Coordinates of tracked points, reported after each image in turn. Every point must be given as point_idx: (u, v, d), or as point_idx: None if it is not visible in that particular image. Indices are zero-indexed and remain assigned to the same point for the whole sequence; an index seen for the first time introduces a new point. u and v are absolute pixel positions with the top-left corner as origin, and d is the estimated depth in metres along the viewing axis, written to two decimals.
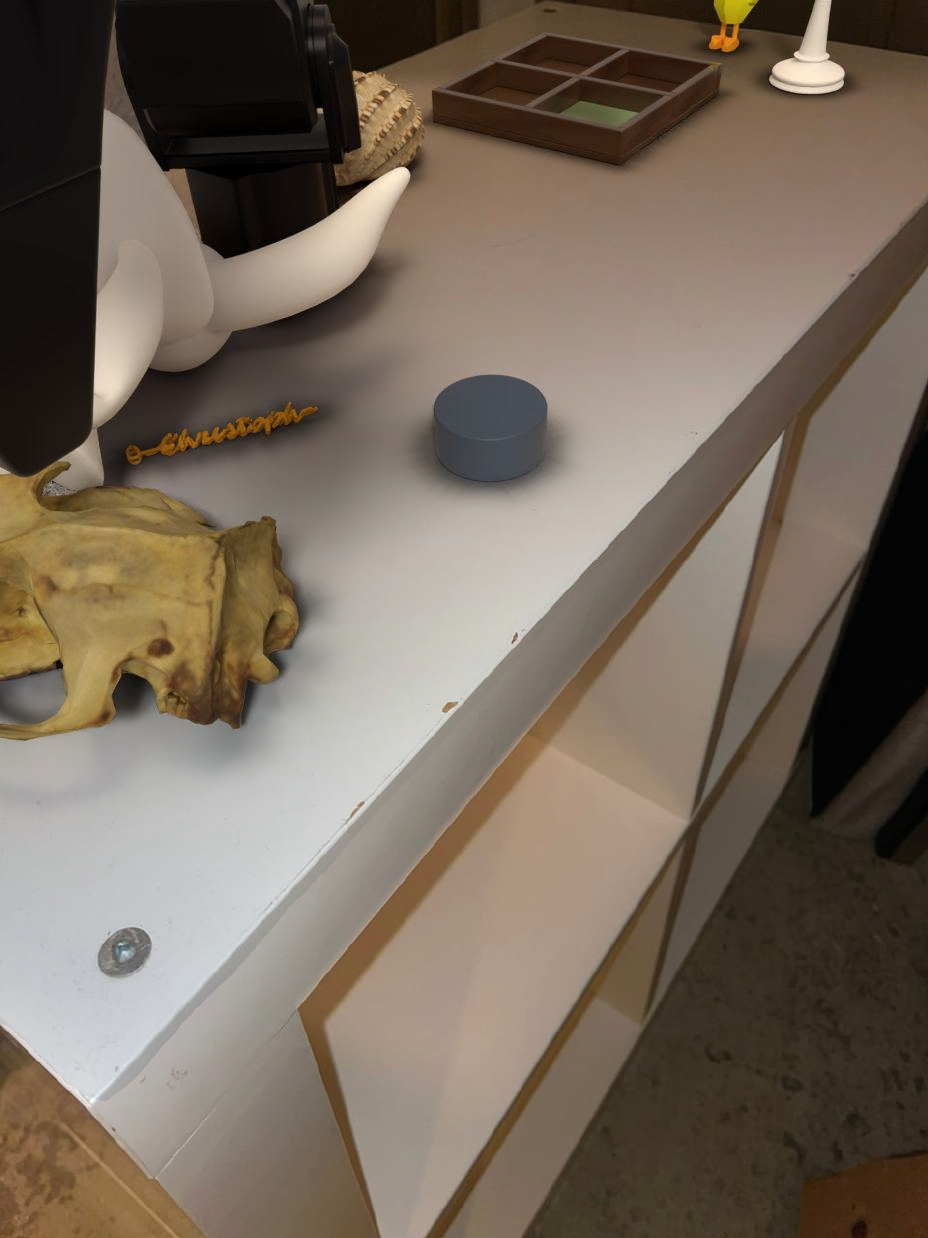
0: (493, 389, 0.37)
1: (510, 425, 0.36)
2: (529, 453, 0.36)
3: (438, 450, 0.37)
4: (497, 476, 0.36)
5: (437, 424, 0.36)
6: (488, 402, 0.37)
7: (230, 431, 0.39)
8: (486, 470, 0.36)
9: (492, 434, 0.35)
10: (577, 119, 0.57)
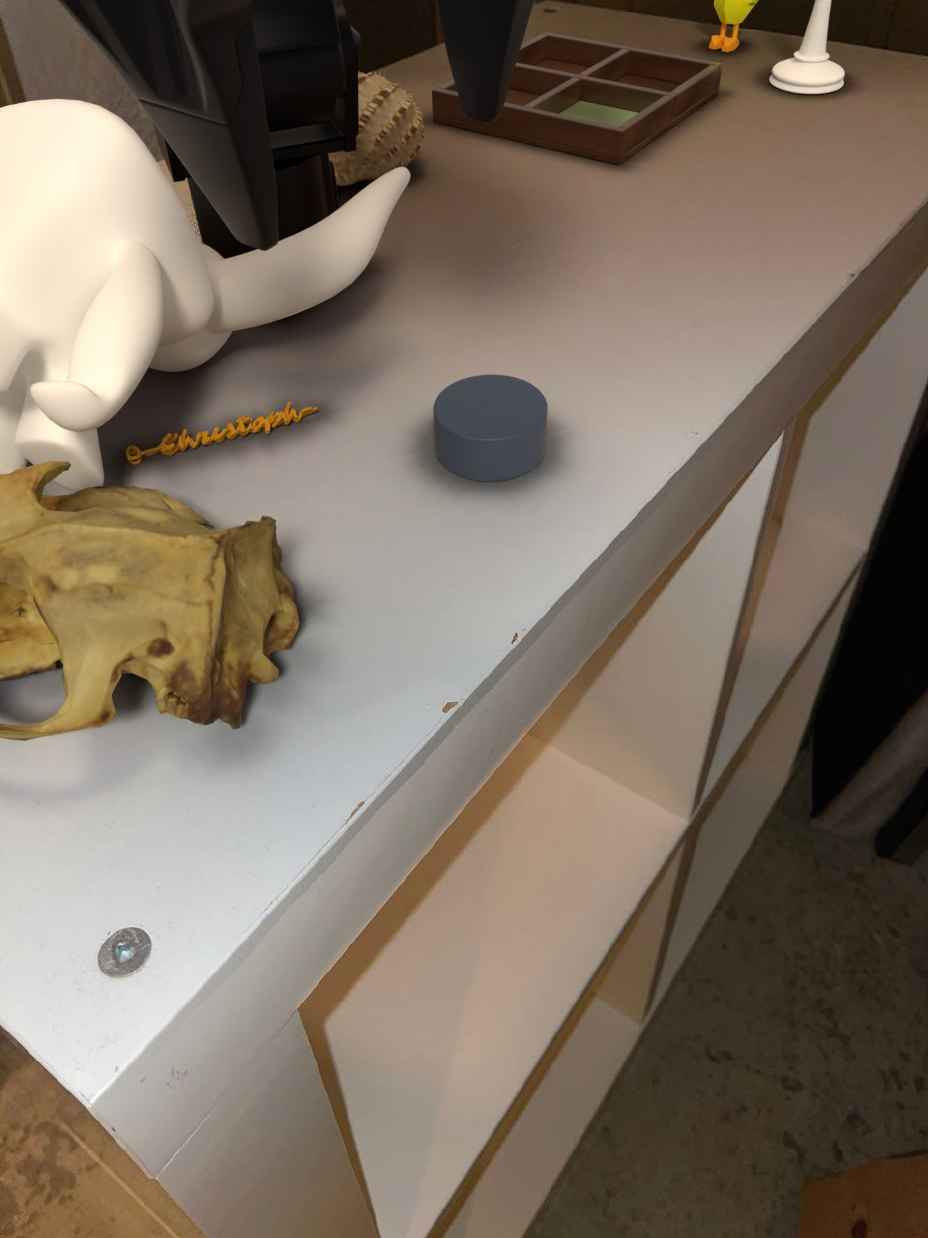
0: (493, 389, 0.37)
1: (510, 425, 0.36)
2: (529, 453, 0.36)
3: (438, 450, 0.37)
4: (497, 476, 0.36)
5: (437, 424, 0.36)
6: (488, 402, 0.37)
7: (230, 431, 0.39)
8: (486, 470, 0.36)
9: (492, 434, 0.35)
10: (577, 119, 0.57)
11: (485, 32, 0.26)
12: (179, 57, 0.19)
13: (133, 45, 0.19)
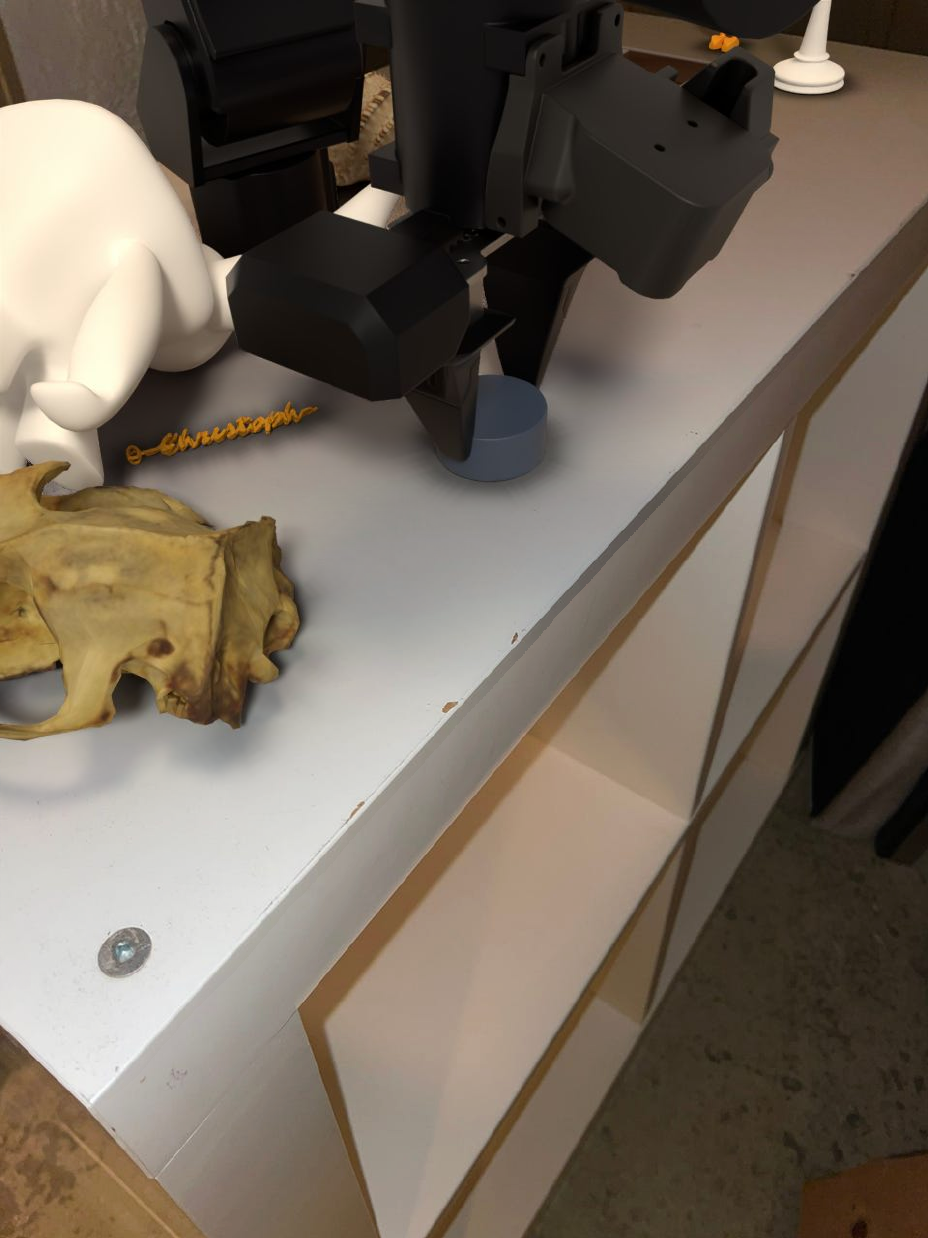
0: (493, 389, 0.37)
1: (510, 425, 0.36)
2: (529, 453, 0.36)
3: (438, 450, 0.37)
4: (497, 476, 0.36)
5: None
6: (489, 402, 0.37)
7: (230, 431, 0.39)
8: (486, 470, 0.36)
9: (492, 434, 0.35)
10: None
11: (527, 350, 0.37)
12: None
13: None
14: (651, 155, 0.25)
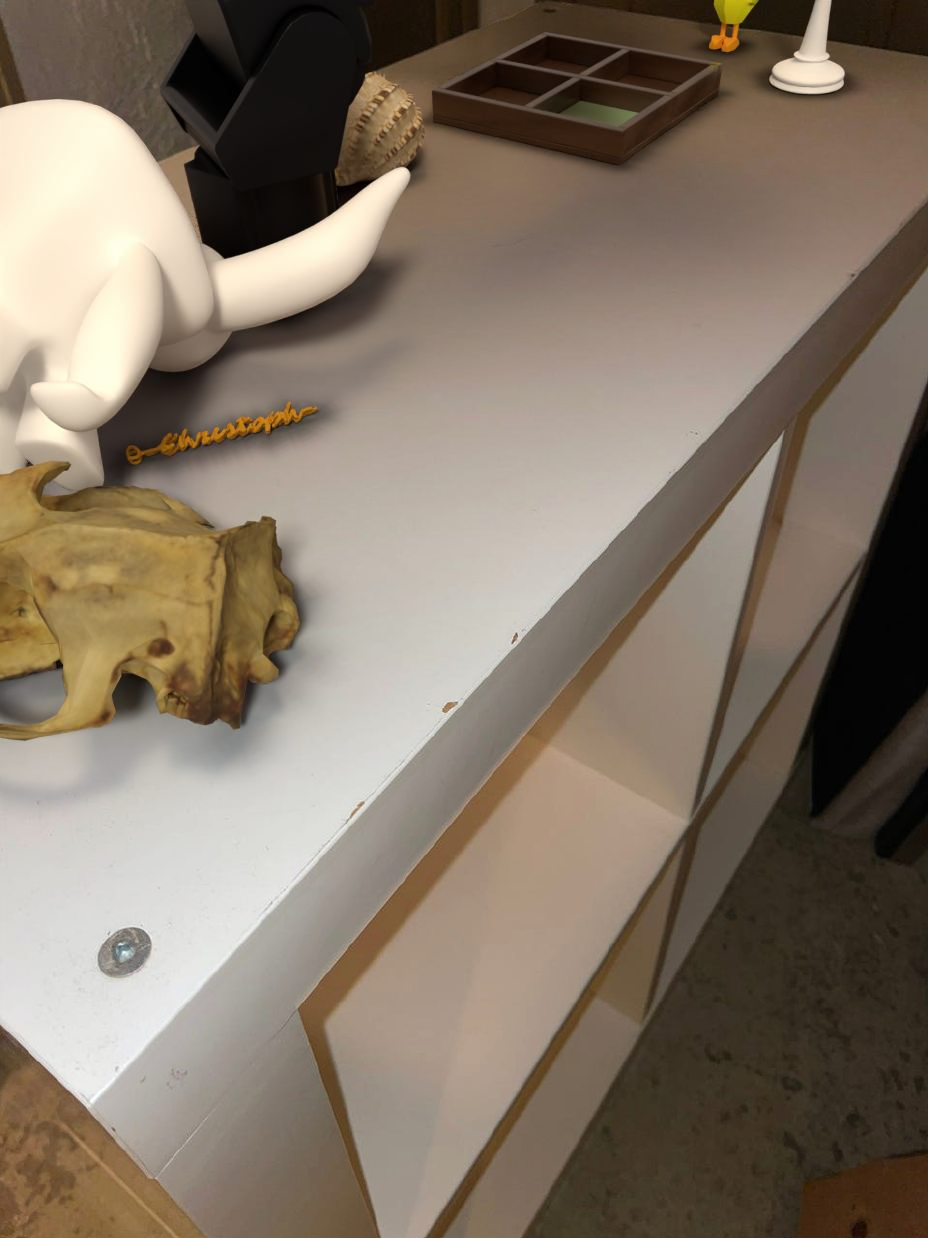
0: None
1: None
2: None
3: None
4: None
5: None
6: None
7: (230, 431, 0.39)
8: None
9: None
10: (577, 119, 0.57)
11: None
12: None
13: None
14: None
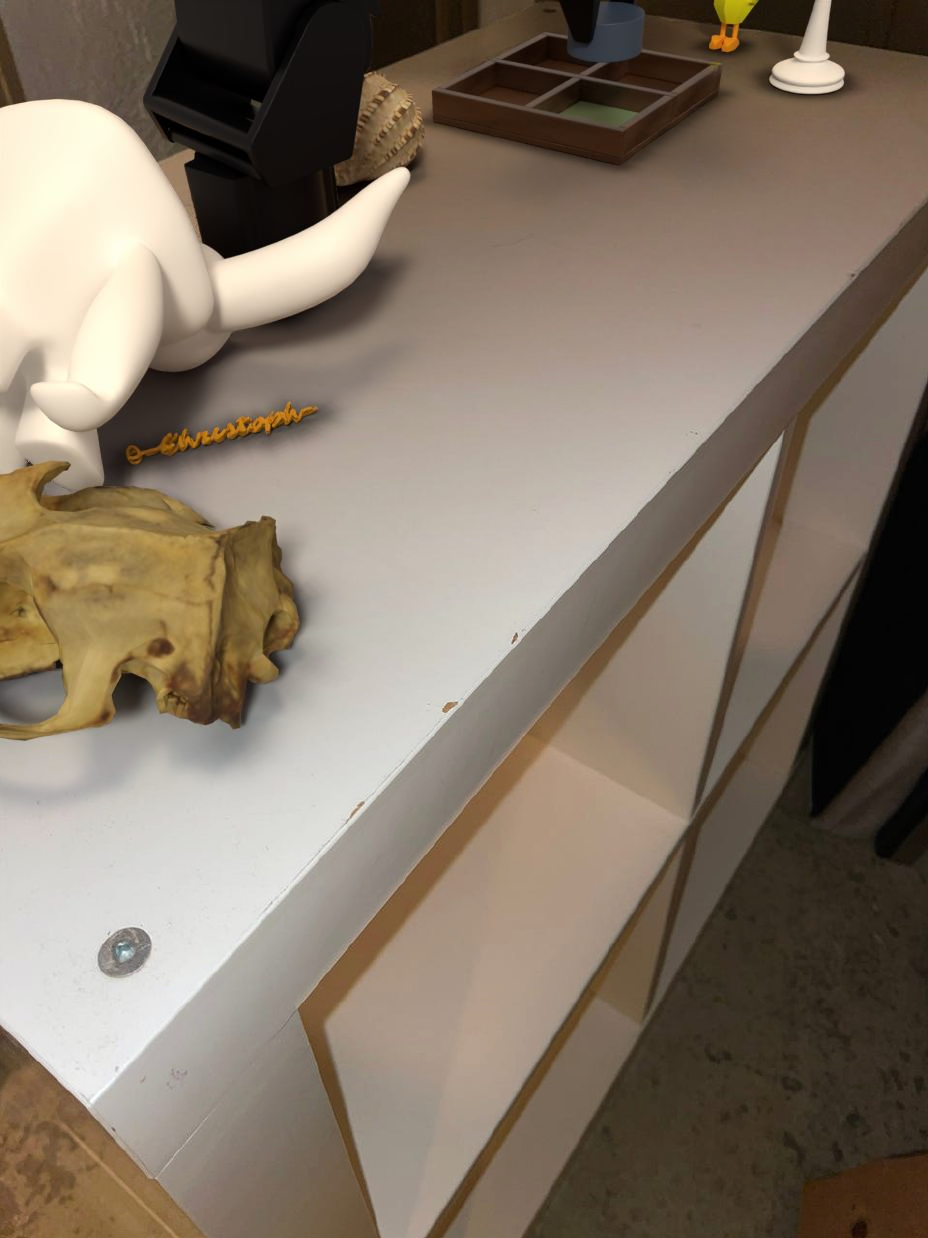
0: (607, 6, 0.56)
1: (622, 18, 0.54)
2: (633, 41, 0.55)
3: (570, 47, 0.56)
4: (611, 57, 0.55)
5: None
6: (605, 11, 0.55)
7: (230, 431, 0.39)
8: (605, 52, 0.55)
9: (611, 21, 0.54)
10: (577, 119, 0.57)
11: None
12: None
13: None
14: None
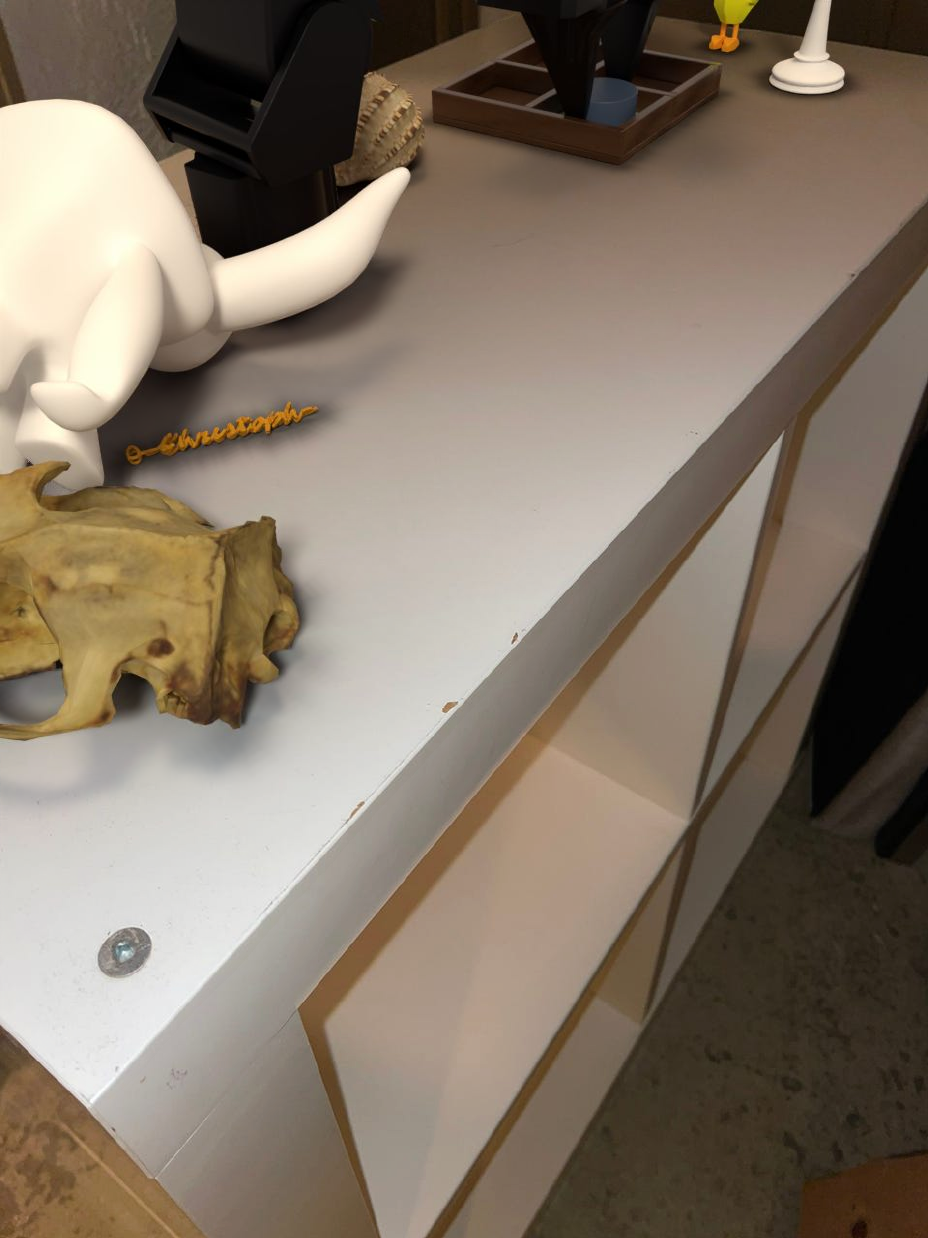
0: (602, 83, 0.59)
1: (616, 96, 0.57)
2: (627, 117, 0.58)
3: None
4: None
5: None
6: (600, 88, 0.58)
7: (230, 431, 0.39)
8: None
9: (605, 100, 0.57)
10: (577, 119, 0.57)
11: (624, 56, 0.59)
12: (571, 47, 0.54)
13: (553, 43, 0.54)
14: None
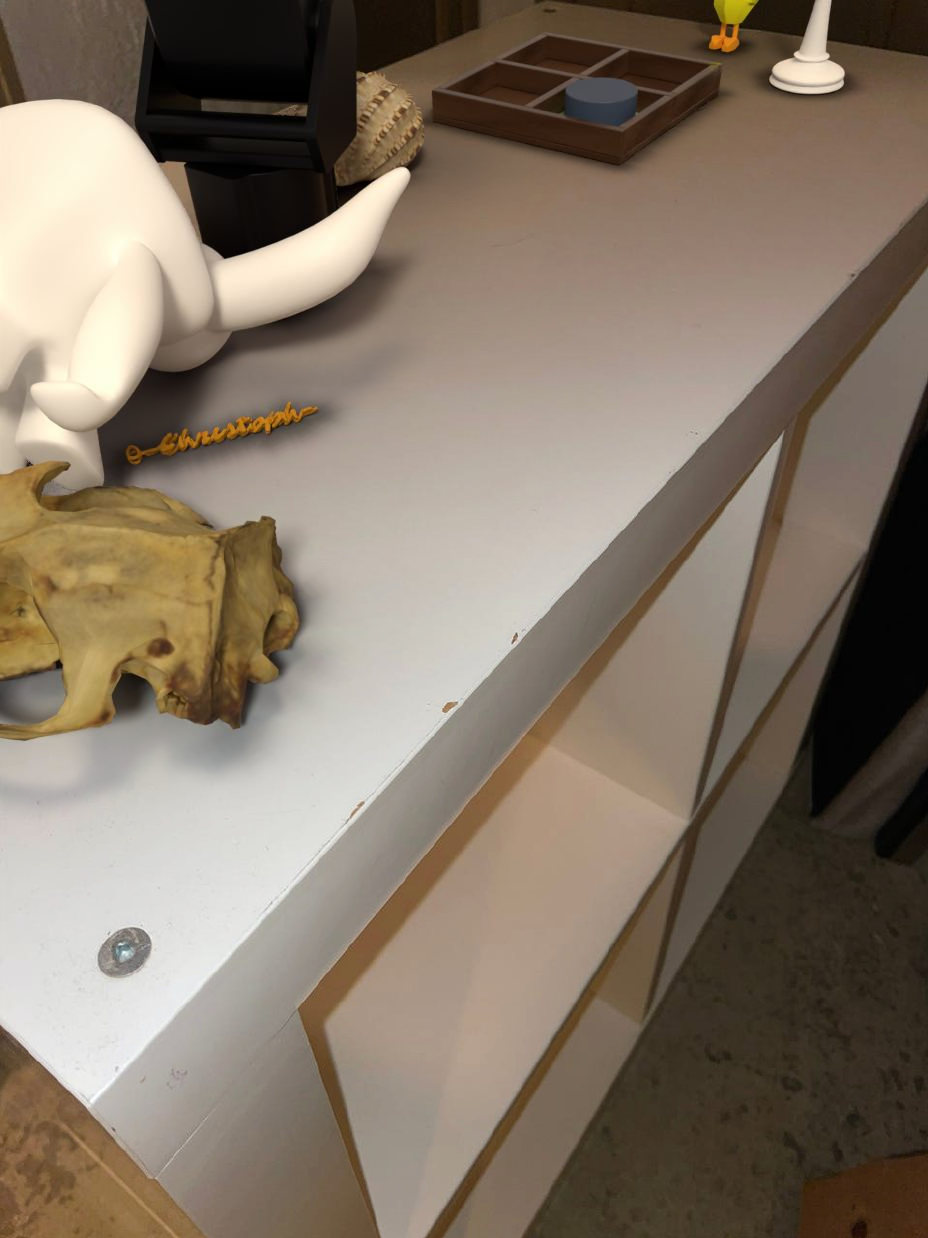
0: (602, 83, 0.59)
1: (616, 96, 0.57)
2: (627, 117, 0.58)
3: None
4: None
5: (569, 99, 0.58)
6: (600, 88, 0.58)
7: (230, 431, 0.39)
8: None
9: (605, 100, 0.57)
10: (577, 119, 0.57)
11: None
12: None
13: None
14: None
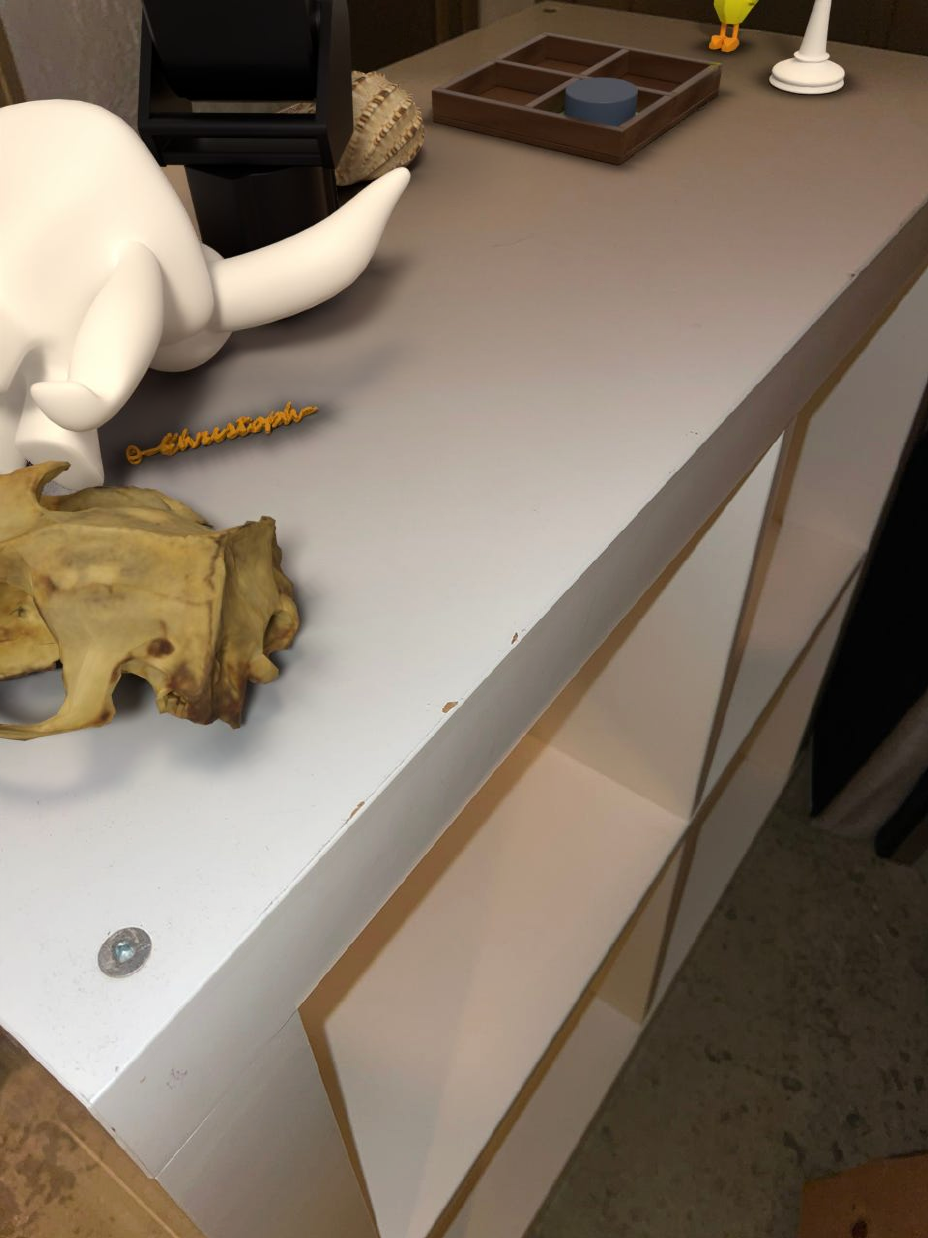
0: (602, 83, 0.59)
1: (616, 96, 0.57)
2: (627, 117, 0.58)
3: None
4: None
5: (569, 99, 0.58)
6: (600, 88, 0.58)
7: (230, 431, 0.39)
8: None
9: (605, 100, 0.57)
10: (577, 119, 0.57)
11: None
12: None
13: None
14: None
